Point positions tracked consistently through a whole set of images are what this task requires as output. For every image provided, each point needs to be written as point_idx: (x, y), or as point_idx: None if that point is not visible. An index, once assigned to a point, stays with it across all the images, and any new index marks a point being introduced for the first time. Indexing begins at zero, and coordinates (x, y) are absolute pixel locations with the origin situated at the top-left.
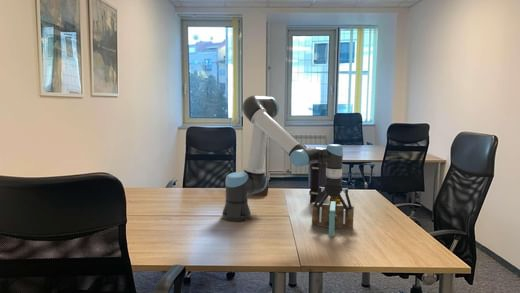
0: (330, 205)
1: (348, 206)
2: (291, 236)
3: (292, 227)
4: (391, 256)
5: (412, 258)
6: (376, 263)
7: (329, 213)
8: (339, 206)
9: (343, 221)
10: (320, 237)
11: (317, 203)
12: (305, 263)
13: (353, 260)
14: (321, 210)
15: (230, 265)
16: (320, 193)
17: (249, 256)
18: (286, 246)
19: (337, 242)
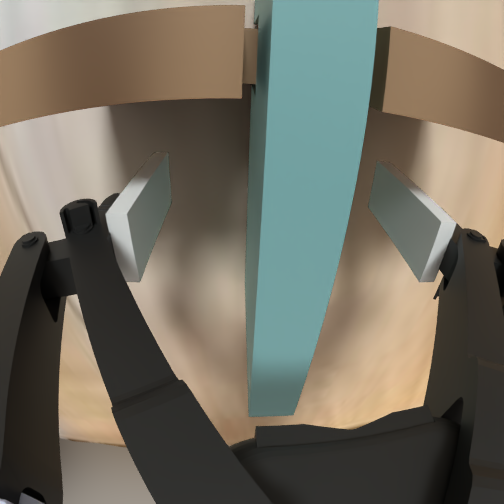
0: (266, 196)
1: (496, 264)
2: (66, 310)
3: (13, 181)
4: None
5: None
6: (372, 415)
7: (249, 415)
8: (418, 118)
9: (376, 217)
10: (199, 300)
11: (30, 72)
12: None
13: (317, 420)
14: (142, 237)
15: (64, 437)
16: (54, 484)
17: (63, 419)
18: (101, 385)
19: None
